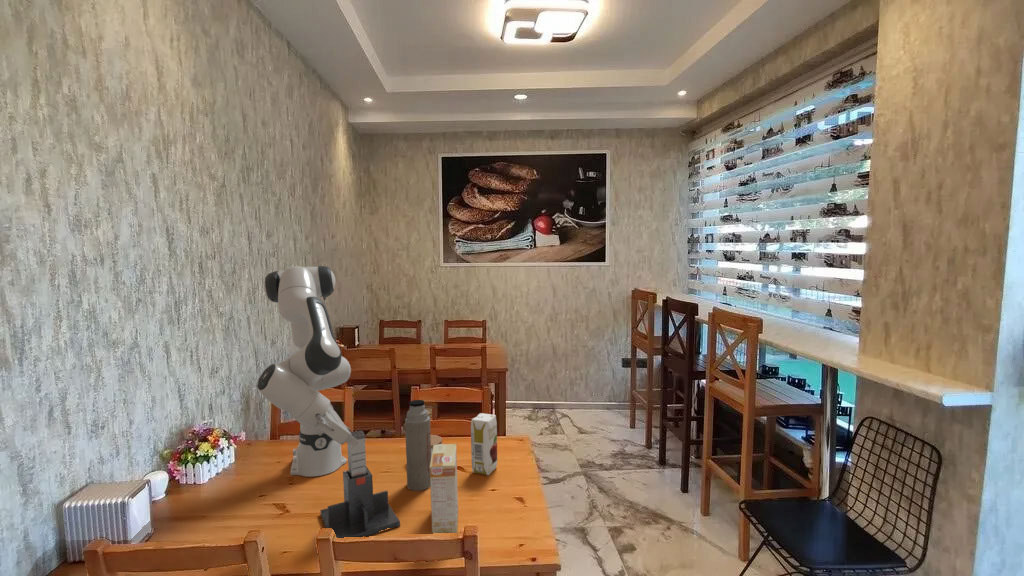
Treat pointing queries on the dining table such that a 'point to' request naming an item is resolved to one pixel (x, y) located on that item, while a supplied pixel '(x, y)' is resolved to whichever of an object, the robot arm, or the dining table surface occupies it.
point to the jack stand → (360, 509)
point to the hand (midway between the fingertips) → (352, 437)
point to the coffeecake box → (444, 488)
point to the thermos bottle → (418, 446)
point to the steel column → (357, 456)
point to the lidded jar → (435, 441)
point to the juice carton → (484, 443)
